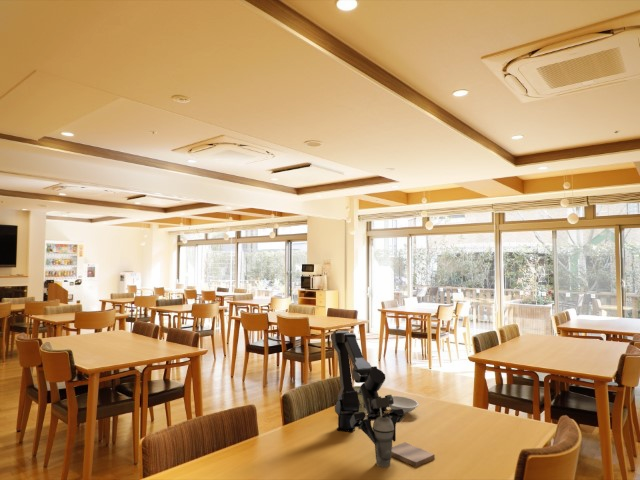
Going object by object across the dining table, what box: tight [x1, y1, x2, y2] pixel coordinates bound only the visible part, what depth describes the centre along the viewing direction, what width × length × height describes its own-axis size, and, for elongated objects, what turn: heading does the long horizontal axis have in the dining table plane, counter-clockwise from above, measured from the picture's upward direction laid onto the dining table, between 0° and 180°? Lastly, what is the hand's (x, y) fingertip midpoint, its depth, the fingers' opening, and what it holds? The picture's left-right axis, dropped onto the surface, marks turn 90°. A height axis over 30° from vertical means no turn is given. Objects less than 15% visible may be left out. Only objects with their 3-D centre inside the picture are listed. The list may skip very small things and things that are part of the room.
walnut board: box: [391, 441, 436, 468], centre depth 149 cm, size 13×10×2 cm
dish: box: [389, 395, 420, 414], centre depth 195 cm, size 18×14×5 cm
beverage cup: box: [372, 408, 394, 468], centre depth 143 cm, size 7×7×20 cm
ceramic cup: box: [352, 385, 367, 414], centre depth 197 cm, size 13×10×10 cm
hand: (385, 442), depth 142 cm, fingers closed on beverage cup, 7 cm apart
